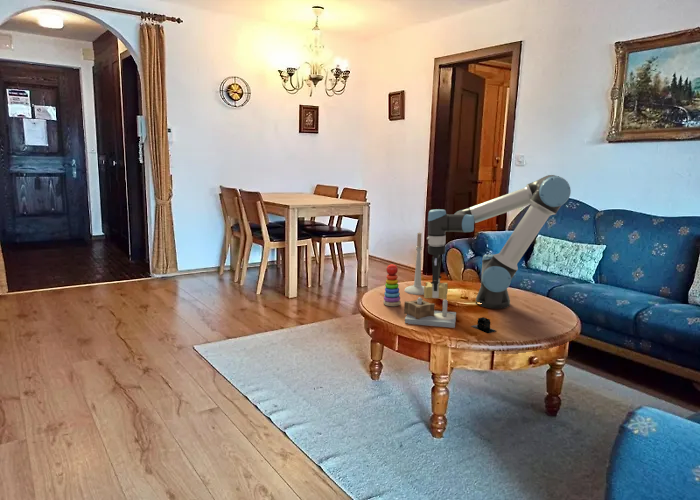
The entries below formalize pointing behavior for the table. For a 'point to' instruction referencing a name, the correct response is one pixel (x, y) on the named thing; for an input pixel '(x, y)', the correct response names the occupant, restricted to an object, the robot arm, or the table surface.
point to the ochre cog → (442, 290)
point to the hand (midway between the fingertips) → (436, 295)
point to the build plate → (484, 325)
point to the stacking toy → (392, 287)
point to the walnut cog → (419, 309)
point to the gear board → (434, 317)
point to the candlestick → (417, 272)
